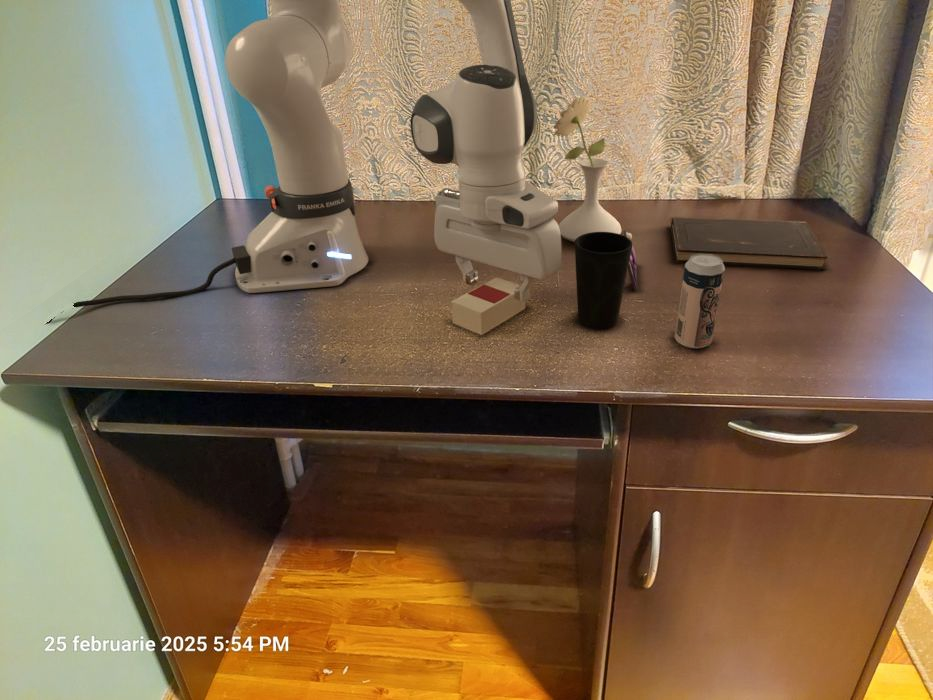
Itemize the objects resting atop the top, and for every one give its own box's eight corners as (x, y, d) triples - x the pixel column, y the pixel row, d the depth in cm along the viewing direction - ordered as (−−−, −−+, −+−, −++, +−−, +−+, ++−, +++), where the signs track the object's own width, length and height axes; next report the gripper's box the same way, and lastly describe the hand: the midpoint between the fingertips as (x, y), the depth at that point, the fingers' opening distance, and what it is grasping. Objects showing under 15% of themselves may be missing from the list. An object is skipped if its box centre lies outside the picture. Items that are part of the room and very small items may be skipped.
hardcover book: (824, 269, 107) (827, 256, 105) (675, 262, 111) (677, 249, 110) (802, 232, 120) (805, 220, 119) (670, 227, 124) (672, 215, 123)
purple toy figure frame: (630, 250, 99) (630, 228, 107) (596, 259, 101) (598, 237, 109) (641, 289, 102) (640, 265, 110) (608, 297, 104) (609, 273, 112)
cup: (591, 338, 91) (597, 258, 85) (560, 315, 97) (563, 238, 91) (636, 324, 94) (644, 245, 88) (602, 303, 100) (608, 227, 94)
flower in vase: (600, 222, 128) (610, 84, 114) (633, 243, 118) (647, 96, 105) (538, 233, 124) (541, 92, 111) (567, 256, 115) (574, 105, 102)
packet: (481, 335, 93) (480, 312, 91) (452, 323, 96) (451, 300, 94) (525, 308, 99) (525, 286, 97) (496, 298, 103) (496, 276, 101)
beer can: (705, 354, 87) (720, 270, 80) (669, 345, 89) (681, 263, 83) (715, 337, 90) (730, 256, 84) (680, 329, 92) (692, 249, 86)
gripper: (420, 191, 93) (428, 281, 100) (540, 219, 81) (540, 318, 88) (450, 179, 97) (456, 266, 104) (569, 204, 85) (566, 300, 92)
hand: (495, 291), depth 96 cm, fingers open, 8 cm apart
